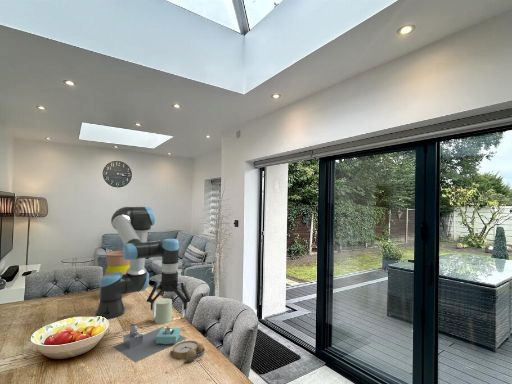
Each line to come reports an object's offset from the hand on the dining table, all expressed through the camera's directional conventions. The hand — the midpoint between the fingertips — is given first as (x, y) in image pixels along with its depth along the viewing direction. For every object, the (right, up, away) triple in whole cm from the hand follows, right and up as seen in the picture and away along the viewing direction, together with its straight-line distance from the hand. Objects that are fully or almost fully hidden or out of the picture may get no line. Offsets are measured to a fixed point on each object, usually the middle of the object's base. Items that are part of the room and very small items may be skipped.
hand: (168, 316), depth 131 cm
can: (-10, -13, +22) cm, 28 cm away
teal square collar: (0, -10, -1) cm, 10 cm away
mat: (-7, -12, -3) cm, 14 cm away
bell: (0, -11, -1) cm, 11 cm away
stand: (-15, -11, -4) cm, 19 cm away
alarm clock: (+13, -12, -12) cm, 21 cm away
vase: (-58, -15, +69) cm, 91 cm away
